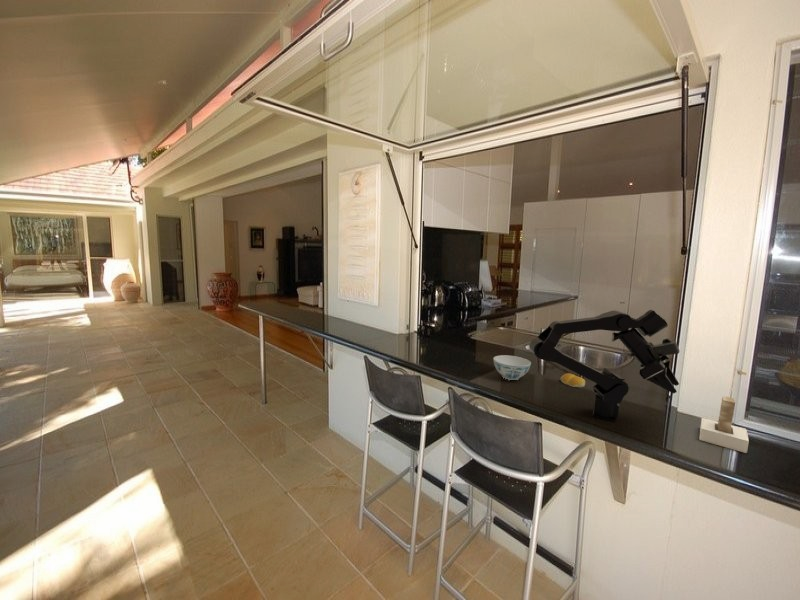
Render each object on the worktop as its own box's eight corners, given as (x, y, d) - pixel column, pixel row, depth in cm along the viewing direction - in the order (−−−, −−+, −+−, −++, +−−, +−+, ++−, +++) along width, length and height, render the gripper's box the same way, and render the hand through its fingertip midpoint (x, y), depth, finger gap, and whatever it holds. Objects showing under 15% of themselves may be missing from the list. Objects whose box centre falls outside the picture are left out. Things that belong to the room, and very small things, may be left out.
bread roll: (577, 389, 141) (579, 379, 140) (557, 382, 148) (558, 373, 148) (589, 386, 145) (590, 376, 145) (569, 379, 153) (570, 370, 152)
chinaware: (533, 377, 152) (534, 360, 151) (523, 387, 140) (525, 368, 139) (498, 369, 160) (500, 353, 159) (487, 378, 148) (488, 360, 147)
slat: (716, 441, 103) (723, 400, 102) (715, 435, 107) (722, 395, 105) (728, 444, 102) (735, 402, 100) (727, 438, 105) (734, 398, 104)
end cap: (699, 439, 104) (701, 428, 103) (700, 428, 111) (701, 417, 111) (746, 453, 97) (748, 441, 97) (744, 440, 105) (746, 428, 104)
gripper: (658, 335, 101) (703, 383, 95) (665, 327, 115) (704, 368, 109) (623, 355, 107) (663, 402, 101) (633, 345, 121) (669, 386, 115)
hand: (676, 388), depth 106 cm, fingers open, 9 cm apart
